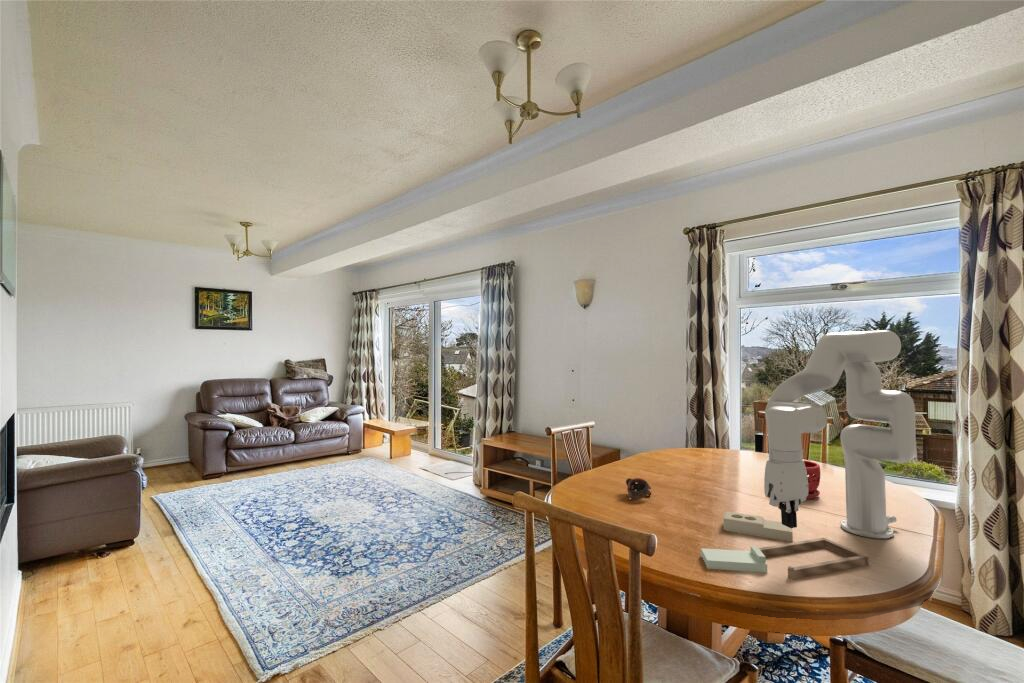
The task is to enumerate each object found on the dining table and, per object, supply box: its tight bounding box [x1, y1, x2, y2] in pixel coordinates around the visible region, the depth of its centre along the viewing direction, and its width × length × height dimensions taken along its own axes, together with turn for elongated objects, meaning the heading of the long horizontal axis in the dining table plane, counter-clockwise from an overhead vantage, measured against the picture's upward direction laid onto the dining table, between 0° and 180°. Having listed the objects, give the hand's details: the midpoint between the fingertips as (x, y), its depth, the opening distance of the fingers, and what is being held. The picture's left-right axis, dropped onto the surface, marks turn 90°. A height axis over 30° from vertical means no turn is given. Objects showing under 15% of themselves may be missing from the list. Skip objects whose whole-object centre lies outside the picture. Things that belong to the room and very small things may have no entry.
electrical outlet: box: [723, 511, 794, 543], centre depth 139 cm, size 7×4×18 cm
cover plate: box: [700, 545, 768, 573], centre depth 118 cm, size 14×7×4 cm, turn 80°
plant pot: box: [804, 460, 821, 500], centre depth 172 cm, size 13×13×12 cm
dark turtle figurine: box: [625, 477, 652, 500], centre depth 172 cm, size 12×10×8 cm
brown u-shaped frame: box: [758, 537, 870, 580], centre depth 120 cm, size 24×12×2 cm, turn 106°
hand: (789, 525), depth 118 cm, fingers closed
